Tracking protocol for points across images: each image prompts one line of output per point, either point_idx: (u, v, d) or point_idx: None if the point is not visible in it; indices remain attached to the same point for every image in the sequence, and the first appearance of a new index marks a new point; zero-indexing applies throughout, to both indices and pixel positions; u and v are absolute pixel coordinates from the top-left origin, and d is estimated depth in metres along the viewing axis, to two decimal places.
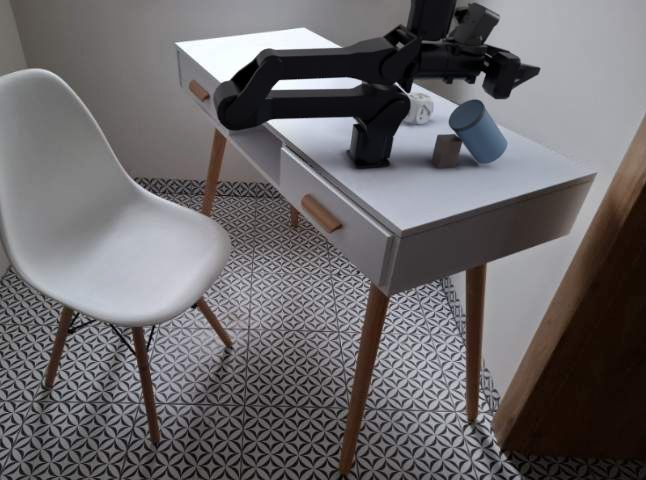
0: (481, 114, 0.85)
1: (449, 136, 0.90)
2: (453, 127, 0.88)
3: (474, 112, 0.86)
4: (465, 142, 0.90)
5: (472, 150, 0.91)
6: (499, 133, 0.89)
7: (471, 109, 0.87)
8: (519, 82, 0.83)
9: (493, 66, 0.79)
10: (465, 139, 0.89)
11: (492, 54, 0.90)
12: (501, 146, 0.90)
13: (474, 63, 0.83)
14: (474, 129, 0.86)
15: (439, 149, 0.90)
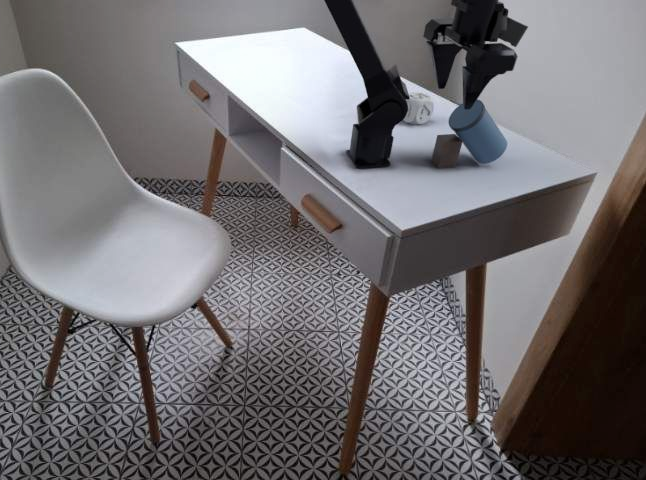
0: (481, 114, 0.85)
1: (449, 136, 0.90)
2: (453, 127, 0.88)
3: (474, 112, 0.86)
4: (465, 142, 0.90)
5: (472, 150, 0.91)
6: (499, 133, 0.89)
7: (471, 109, 0.87)
8: (469, 88, 0.78)
9: (501, 46, 0.74)
10: (465, 139, 0.89)
11: (445, 69, 0.87)
12: (501, 146, 0.90)
13: (483, 32, 0.76)
14: (474, 129, 0.86)
15: (439, 149, 0.90)
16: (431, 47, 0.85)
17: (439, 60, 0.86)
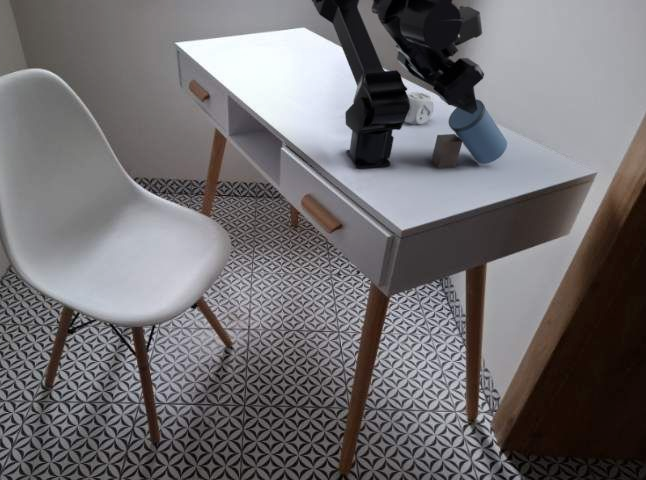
0: (481, 114, 0.85)
1: (449, 136, 0.90)
2: (453, 127, 0.88)
3: None
4: (465, 142, 0.90)
5: (472, 150, 0.91)
6: (499, 133, 0.89)
7: None
8: (460, 105, 0.80)
9: (459, 65, 0.74)
10: (465, 139, 0.89)
11: None
12: (501, 146, 0.90)
13: (439, 57, 0.77)
14: (474, 129, 0.86)
15: (439, 149, 0.90)
16: (413, 75, 0.87)
17: (428, 77, 0.87)
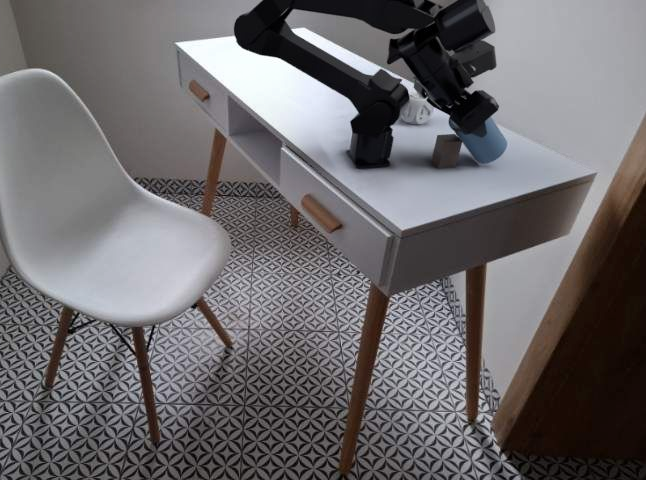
0: None
1: (449, 136, 0.90)
2: (453, 127, 0.88)
3: None
4: (465, 142, 0.90)
5: (472, 150, 0.91)
6: (499, 133, 0.89)
7: None
8: None
9: (475, 97, 0.78)
10: (465, 139, 0.89)
11: None
12: (501, 146, 0.90)
13: (456, 88, 0.81)
14: None
15: (439, 149, 0.90)
16: None
17: (447, 107, 0.90)
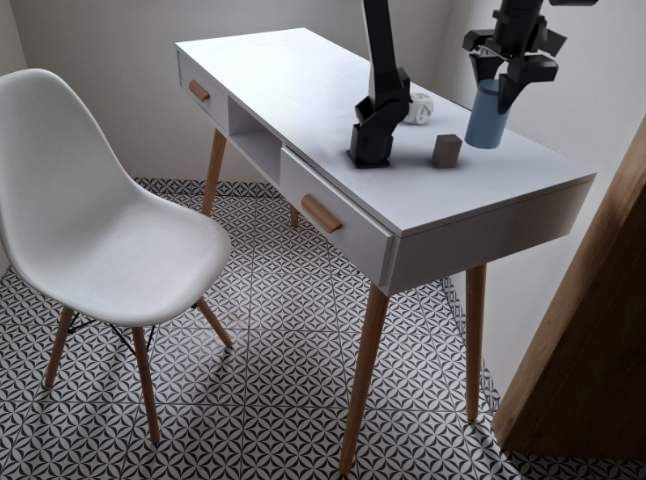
0: None
1: (449, 136, 0.90)
2: (484, 87, 0.84)
3: None
4: (479, 111, 0.86)
5: (477, 124, 0.88)
6: (504, 127, 0.88)
7: None
8: (504, 94, 0.81)
9: (542, 57, 0.76)
10: (484, 107, 0.85)
11: None
12: (498, 140, 0.89)
13: (524, 44, 0.78)
14: None
15: (439, 149, 0.90)
16: (473, 60, 0.86)
17: (482, 73, 0.87)
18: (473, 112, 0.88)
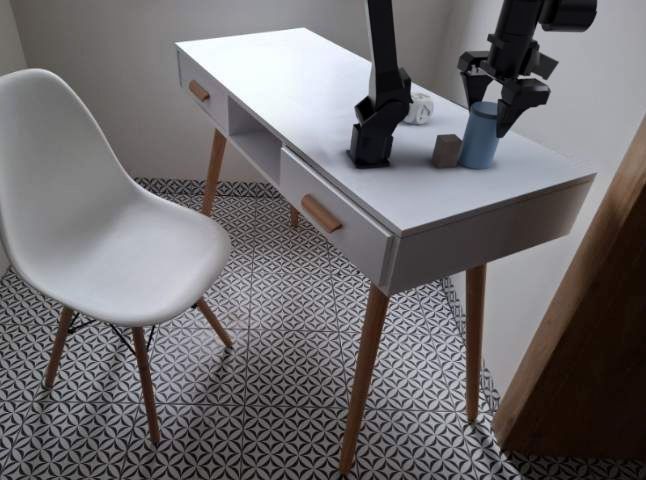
0: None
1: (449, 136, 0.90)
2: (477, 110, 0.87)
3: None
4: (472, 133, 0.89)
5: (470, 145, 0.90)
6: None
7: (496, 108, 0.88)
8: (503, 119, 0.83)
9: (535, 81, 0.79)
10: (477, 129, 0.88)
11: (477, 99, 0.91)
12: (490, 160, 0.92)
13: (517, 67, 0.81)
14: (492, 123, 0.86)
15: (439, 149, 0.90)
16: (464, 78, 0.90)
17: (472, 90, 0.91)
18: (466, 133, 0.90)
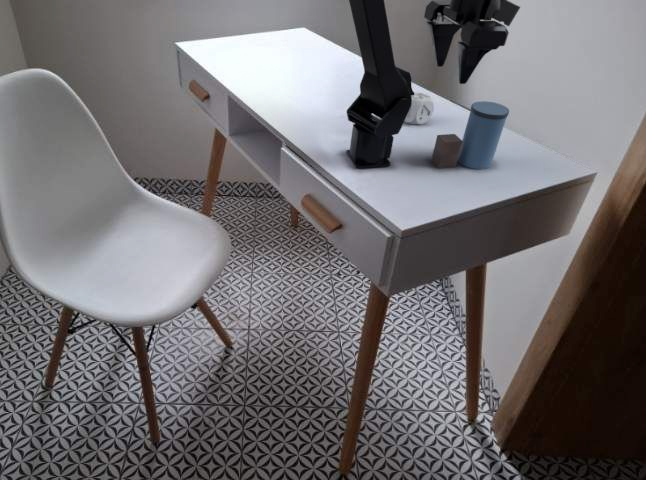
0: (506, 114, 0.86)
1: (449, 136, 0.90)
2: (477, 110, 0.87)
3: (499, 110, 0.87)
4: (472, 133, 0.89)
5: (470, 145, 0.90)
6: None
7: (496, 108, 0.88)
8: (464, 62, 0.84)
9: (493, 23, 0.80)
10: (477, 129, 0.88)
11: (443, 48, 0.93)
12: (490, 160, 0.92)
13: (478, 11, 0.83)
14: (492, 123, 0.86)
15: (439, 149, 0.90)
16: (430, 27, 0.91)
17: (438, 39, 0.92)
18: (466, 133, 0.90)
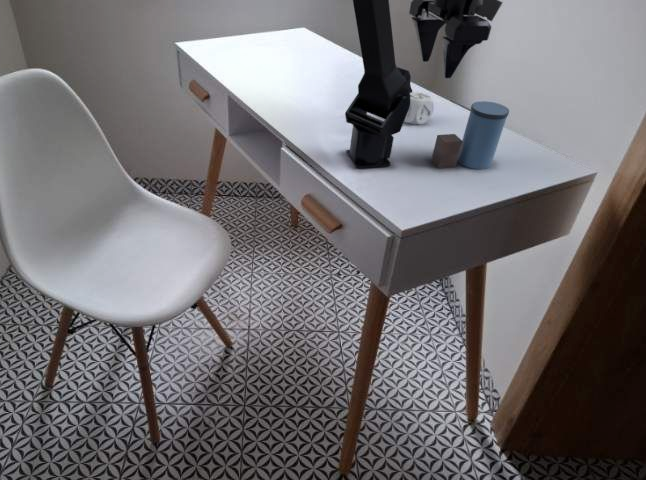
0: (506, 114, 0.86)
1: (449, 136, 0.90)
2: (477, 110, 0.87)
3: (499, 110, 0.87)
4: (472, 133, 0.89)
5: (470, 145, 0.90)
6: None
7: (496, 108, 0.88)
8: (449, 57, 0.86)
9: (476, 18, 0.82)
10: (477, 129, 0.88)
11: (428, 43, 0.95)
12: (490, 160, 0.92)
13: (461, 6, 0.85)
14: (492, 123, 0.86)
15: (439, 149, 0.90)
16: (415, 23, 0.93)
17: (423, 35, 0.94)
18: (466, 133, 0.90)
